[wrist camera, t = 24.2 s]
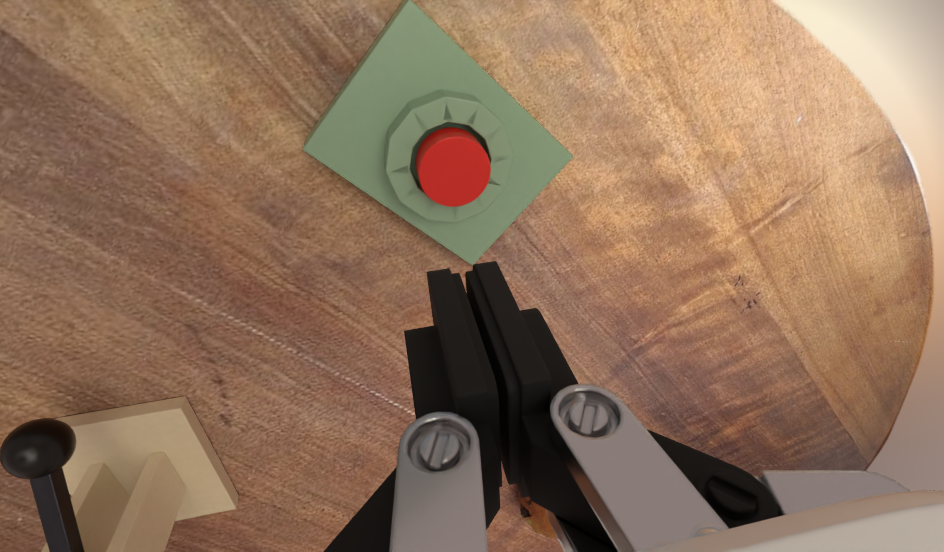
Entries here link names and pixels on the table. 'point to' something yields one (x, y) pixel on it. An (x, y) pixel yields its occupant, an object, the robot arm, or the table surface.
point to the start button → (452, 167)
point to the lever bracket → (142, 475)
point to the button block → (421, 113)
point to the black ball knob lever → (46, 476)
